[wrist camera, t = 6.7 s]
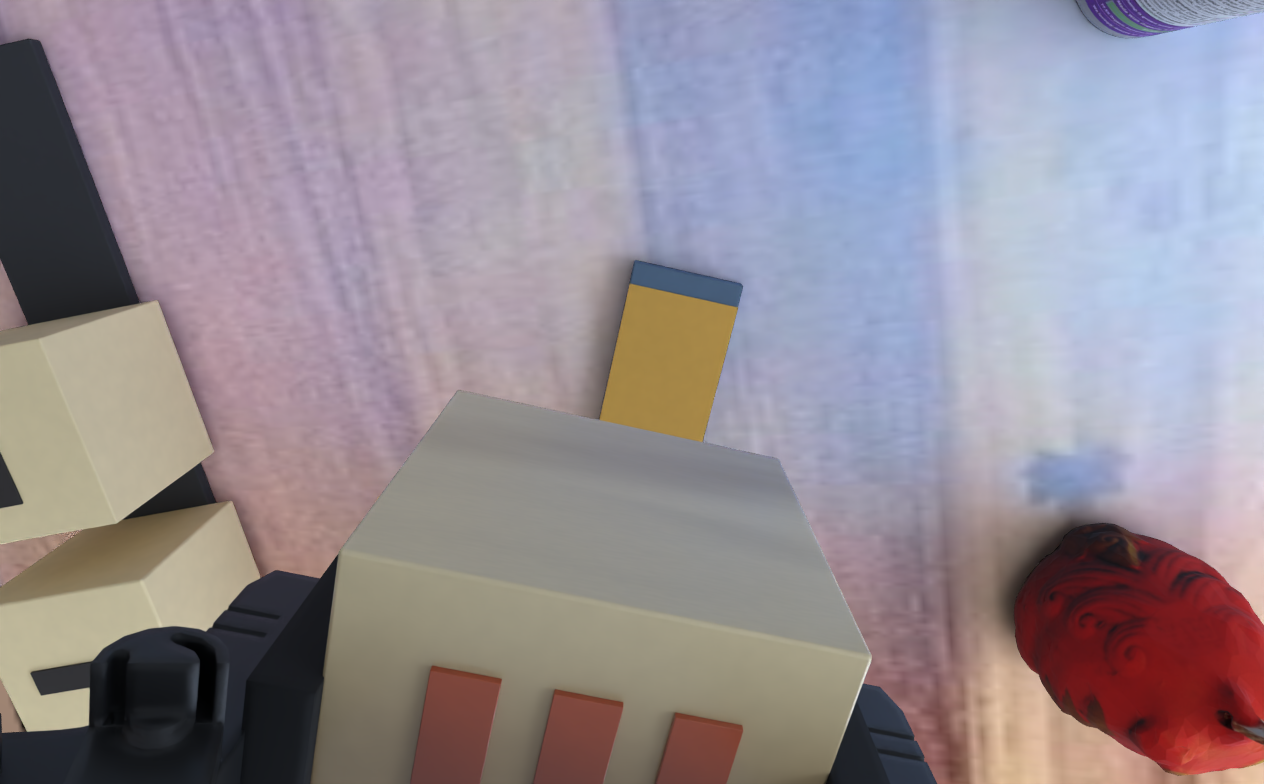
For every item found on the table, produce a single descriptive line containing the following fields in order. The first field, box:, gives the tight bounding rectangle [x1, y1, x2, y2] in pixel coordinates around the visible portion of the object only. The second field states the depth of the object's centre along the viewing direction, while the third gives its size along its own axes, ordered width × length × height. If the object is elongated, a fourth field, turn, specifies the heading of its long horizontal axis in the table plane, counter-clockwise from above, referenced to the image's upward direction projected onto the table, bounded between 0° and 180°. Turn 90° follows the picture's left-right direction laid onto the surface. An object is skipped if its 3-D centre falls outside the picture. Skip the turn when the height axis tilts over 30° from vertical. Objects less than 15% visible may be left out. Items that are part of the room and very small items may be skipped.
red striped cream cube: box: [310, 390, 872, 784], centre depth 12 cm, size 6×6×6 cm
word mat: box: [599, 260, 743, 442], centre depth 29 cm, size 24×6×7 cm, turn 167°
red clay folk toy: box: [1014, 523, 1264, 776], centre depth 25 cm, size 8×7×15 cm
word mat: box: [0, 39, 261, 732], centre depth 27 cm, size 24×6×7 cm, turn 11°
